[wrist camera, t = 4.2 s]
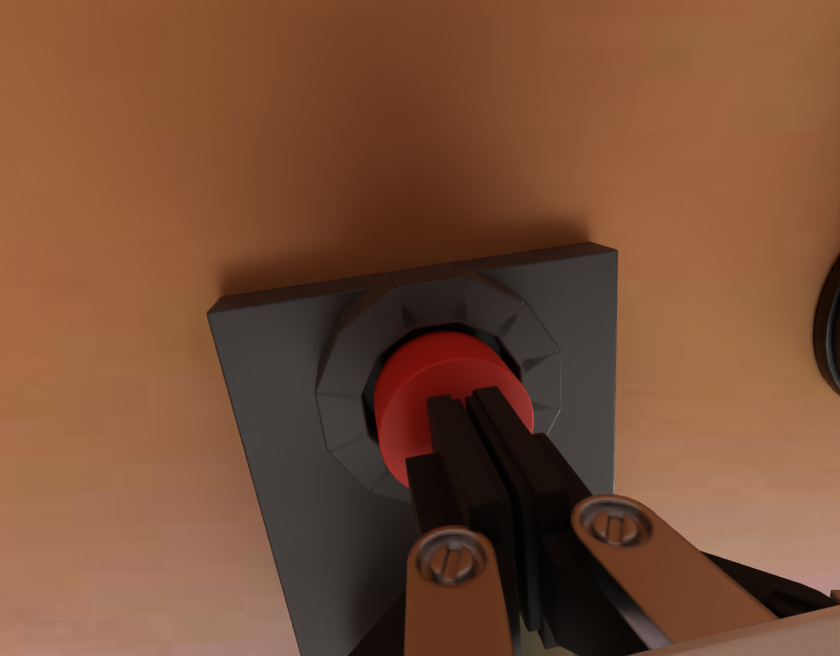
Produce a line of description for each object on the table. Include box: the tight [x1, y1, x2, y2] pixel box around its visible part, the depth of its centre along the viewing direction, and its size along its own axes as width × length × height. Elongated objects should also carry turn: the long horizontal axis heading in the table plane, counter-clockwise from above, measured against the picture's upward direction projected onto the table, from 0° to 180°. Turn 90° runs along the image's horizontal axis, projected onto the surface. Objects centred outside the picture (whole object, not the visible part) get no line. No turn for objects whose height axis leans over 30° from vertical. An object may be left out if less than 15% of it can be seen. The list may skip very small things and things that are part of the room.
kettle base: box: [207, 242, 618, 656], centre depth 17 cm, size 18×12×4 cm, turn 7°
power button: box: [373, 331, 534, 488], centre depth 13 cm, size 4×4×2 cm
